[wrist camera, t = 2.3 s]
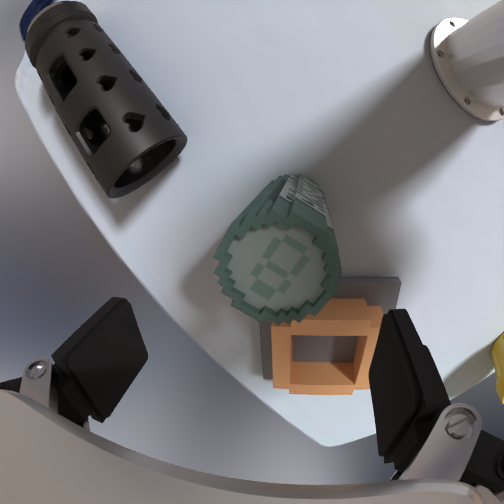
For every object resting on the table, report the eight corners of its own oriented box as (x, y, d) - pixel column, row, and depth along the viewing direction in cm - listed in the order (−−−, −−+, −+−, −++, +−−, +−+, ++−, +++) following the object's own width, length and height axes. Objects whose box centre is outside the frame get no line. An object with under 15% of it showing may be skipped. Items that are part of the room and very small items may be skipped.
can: (252, 213, 28) (198, 285, 14) (282, 163, 25) (252, 186, 12) (302, 244, 28) (293, 339, 15) (335, 196, 26) (363, 257, 12)
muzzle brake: (148, 188, 29) (88, 212, 20) (61, 54, 24) (10, 49, 14) (207, 134, 26) (155, 133, 16) (101, 6, 20) (51, -12, 11)
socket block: (398, 277, 27) (411, 302, 23) (373, 374, 33) (378, 401, 29) (258, 275, 31) (249, 300, 26) (264, 372, 37) (258, 399, 32)
